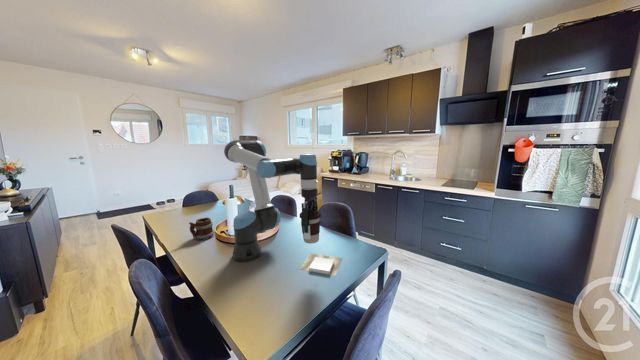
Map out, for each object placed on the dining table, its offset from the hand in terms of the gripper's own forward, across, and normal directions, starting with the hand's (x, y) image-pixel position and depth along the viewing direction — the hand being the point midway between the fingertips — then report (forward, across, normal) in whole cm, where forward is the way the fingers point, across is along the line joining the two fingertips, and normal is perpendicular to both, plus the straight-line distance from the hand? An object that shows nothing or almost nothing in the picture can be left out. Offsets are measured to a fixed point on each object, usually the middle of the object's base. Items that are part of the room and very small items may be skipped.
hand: (311, 234), depth 103 cm
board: (+18, +5, -3) cm, 19 cm away
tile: (+16, +7, -4) cm, 18 cm away
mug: (+16, +13, +82) cm, 85 cm away
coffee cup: (+3, 0, 0) cm, 3 cm away
